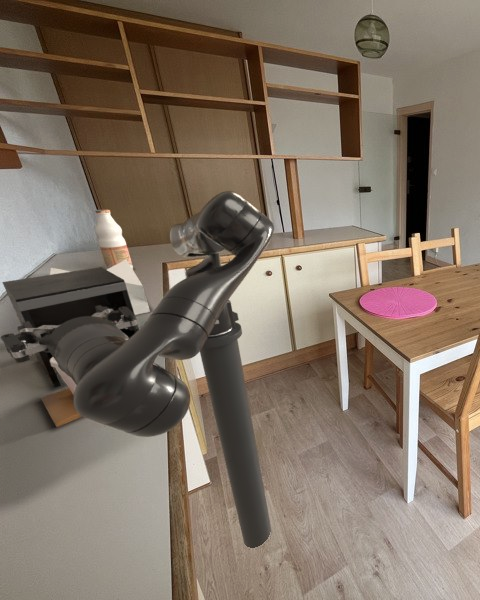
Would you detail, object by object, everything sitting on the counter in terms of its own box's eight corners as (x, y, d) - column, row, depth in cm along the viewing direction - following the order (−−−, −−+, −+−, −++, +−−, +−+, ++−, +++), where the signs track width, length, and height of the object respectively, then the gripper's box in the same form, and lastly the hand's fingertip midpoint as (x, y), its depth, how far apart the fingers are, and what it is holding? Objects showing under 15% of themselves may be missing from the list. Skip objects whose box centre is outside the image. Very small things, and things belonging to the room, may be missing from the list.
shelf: (124, 336, 91) (101, 266, 83) (147, 356, 82) (124, 279, 74) (38, 362, 78) (2, 282, 70) (55, 388, 69) (15, 299, 61)
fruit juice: (104, 273, 143) (83, 211, 133) (113, 268, 151) (94, 208, 141) (129, 272, 147) (110, 211, 136) (136, 267, 155) (120, 208, 144)
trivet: (116, 374, 74) (114, 371, 74) (135, 394, 68) (133, 390, 67) (42, 401, 65) (40, 397, 64) (56, 427, 58) (54, 423, 58)
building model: (60, 291, 122) (51, 267, 119) (132, 280, 137) (126, 259, 133) (57, 330, 92) (45, 301, 89) (150, 311, 107) (142, 285, 104)
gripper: (147, 309, 48) (112, 286, 56) (4, 346, 37) (-12, 311, 46) (159, 352, 51) (124, 324, 59) (30, 397, 40) (9, 355, 48)
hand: (65, 318), depth 52 cm, fingers open, 8 cm apart
